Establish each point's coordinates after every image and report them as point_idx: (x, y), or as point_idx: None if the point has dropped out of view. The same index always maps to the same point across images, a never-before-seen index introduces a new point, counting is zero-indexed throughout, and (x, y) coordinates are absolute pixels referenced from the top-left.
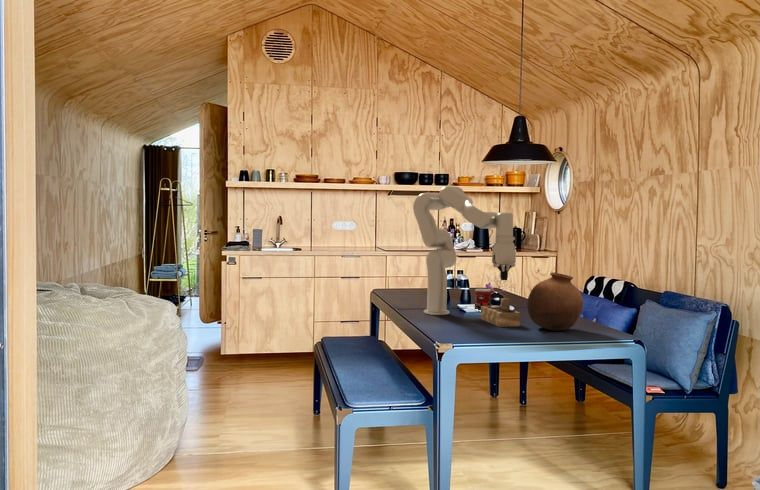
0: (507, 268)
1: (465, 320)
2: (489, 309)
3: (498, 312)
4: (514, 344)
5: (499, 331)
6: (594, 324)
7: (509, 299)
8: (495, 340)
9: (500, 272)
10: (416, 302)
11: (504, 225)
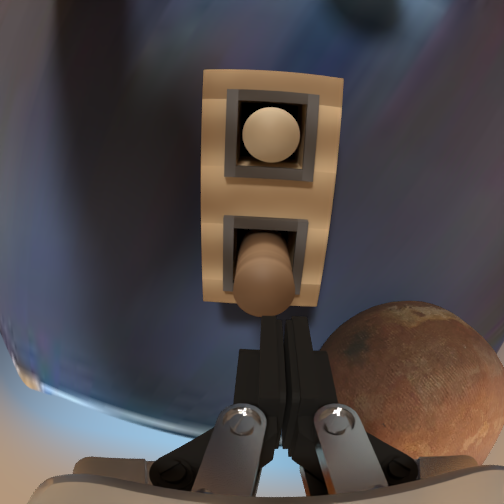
0: (314, 487)
1: (125, 103)
2: (202, 182)
3: (207, 277)
4: (158, 429)
5: (175, 331)
6: None
7: (279, 312)
8: (126, 398)
9: (234, 403)
10: None
11: None
